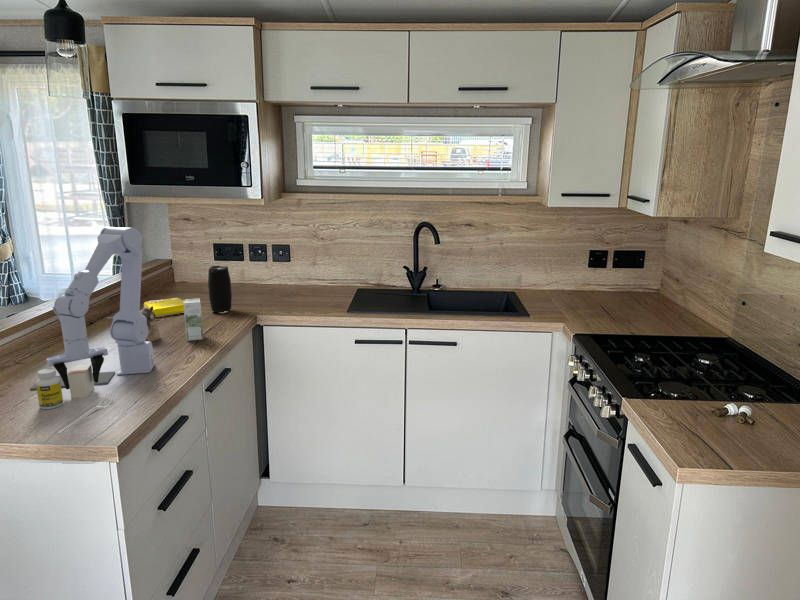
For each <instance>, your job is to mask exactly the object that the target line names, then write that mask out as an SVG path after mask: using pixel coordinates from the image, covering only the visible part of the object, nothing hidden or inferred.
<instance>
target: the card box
mask: <svg viewBox="0 0 800 600" xmlns="http://www.w3.org/2000/svg"><path fill="white" fill-rule="evenodd" d="M92 373H93V369H92V364H80V365H75V366H74V367H73V368H72V369H71V370H70V371H68V372H67V375H68V380H69V387H70V389H69V392H70V393H69V394H70V399H71V398H73V399H81V398H82V399H83V397H85V398H88V397H89V396H88V395H91V393H92V392H93V390H94V389H95V385H94V381H93V374H92ZM93 388H94V389H93ZM91 391H92V392H91Z"/></svg>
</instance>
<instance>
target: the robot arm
mask: <svg viewBox="0 0 800 600" xmlns="http://www.w3.org/2000/svg"><path fill="white" fill-rule="evenodd" d="M96 237H97V245H96V247H95V249H94V251H93V253H92V255H91V257H90V259H89V261H88V262H87V265H86V267H85V269H84V270H80V271H79V270H78V272H77V273H75V274H74V275H73V279H72V281H71V282H70V284H69V285H68V287H67V289H66V290H65V292H64V293H63V294H61V295H60V296H58V297H57V298H56V299H55V301H54V305H53V306H52V310H53V312H54V314H55V315H57V317H58V321H60V326H61V332H62V340H63V347H64V353H62V354H61V353H60V354H59V355H55V356H52V357H46V365H47V367H48V368H51V367H54V369H55V371H56V372H57V373H58V374H59V376H61V378H62V380H63V382H64V385H65V387H64V388H65V389H66V390H70V387H69V382H68V376H67V375H68V367H67V366H66V364H67V363H72V362H76V361H82V360H86V359H90V362H91V363H90V365H91V366H92V373H93V379H94V382H95V383H97V382H98V378H99V373H101V372H100V371H101V368H102V366H103V363H104V362H105V357H104V356H109V352H108V348H107V347H106V346H103V347H95V348H90V346H89V340H88V332H87V325H86V317H85V316H86V313H88V312H89V306H90V304H89V302H90V300H91V298H90V297H91V296H92V294H93V292H94V291H95V289H96V287H97V286H98V284H99V281H100V280H99V277H98V275H99V274H100V272H102V270H103V268H104V266H105V265H106V264H107V263H108V262H109V260H110V259H111V257H112V256H113V255H118V256H119V257H120V259H121V274H120V275H121V277H120V278H121V279H120V297H119V299H120V300H119V311H118V312H116V314H114V315H113V316H112V323H111V325H110V328H109V334H110V337H111V338H112V340H114V342H115V344H117V350H118V351H117V352H118V358H119V359H118V360H119V366H120V367H119V370H118V371H117V373H116V375H117V376H120V375H131V374H132V375H134V374H147V373H151V372H152V370H153V368H154V366H155V365H156V364H155V358H154V357H155V356H154V349H153V348H154V347H153V343H152V342H151V341H145V340H146V338H147V336H148V326H147V318H146V317H145V316H144V315H143V314H142V313H141V312H140V311H141V310H140V307H141V293H142V292H141V289H142V269H143V250H142V247H143V245H142V243H143V235H142V234H141V233H140V232H139V230H137V228H135V227H119V226H118V227H116V226H104V227H103V228H102V229H101V230H100V234H98V236H96Z"/></svg>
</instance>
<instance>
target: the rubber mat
mask: <svg viewBox="0 0 800 600" xmlns="http://www.w3.org/2000/svg"><path fill="white" fill-rule="evenodd" d="M92 374H93V372H92ZM114 375H116V370H115V371H104V372H100V373H99V378H98V382H97V383H95V382H94V386H98V385H99V386H100V385H108V384H110V382H111V380H112V378H113V377H114ZM56 376H57V377H59V379H60V383H61V389H62V388H65V385H64V382H63V380H62V378H61V376H60V375H56ZM67 376H68V374H67ZM93 381H94V379H93ZM68 382H69V380H68ZM29 389H30V391H37V387H36V382H35V383H34V384H33V385H32V386H31V387H30V388H29Z"/></svg>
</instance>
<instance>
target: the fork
mask: <svg viewBox="0 0 800 600" xmlns="http://www.w3.org/2000/svg"><path fill="white" fill-rule="evenodd" d="M115 395H116V394H110V393H109V394H106V395H105V396H104V397H103V398H102V399H101V400H100V402H99V403H98V404H97V405H98V406H100V405H101V406H102V407H95V406H93V407H92V408H90V409H89V410H88V411H86V412H85V413H83V414H82V415H80V416H79V417H78V418H77V419H75V420H74V421H72V422H71V423H69V424H68V425H66V426H65V427H64V428H62V429H60V430H59V431H58V432H57V434H58V433H60V434H62V433H63V432H65V431H66V430H67V429H66V428H68V427H70V426H71V427H72V425H73V424H74V425H76V424H78V423H80V422H81V421H83V420H84V419H85V417H86V418H87V417H89V416H90V415H91V414H93V413H94V412H96V411H97V410H102V409H105V408H107V407H108V406H110V405H111V404H112V403H113V401H114V399H115V397H116V396H115ZM104 406H105V407H104ZM88 415H89V416H88ZM83 418H84V419H83ZM82 419H83V420H82ZM77 422H78V423H77ZM75 423H76V424H75ZM74 425H73V426H74ZM71 427H70V428H71ZM65 429H66V430H65ZM68 429H69V428H68ZM64 430H65V431H64ZM62 431H63V432H62Z"/></svg>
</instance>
